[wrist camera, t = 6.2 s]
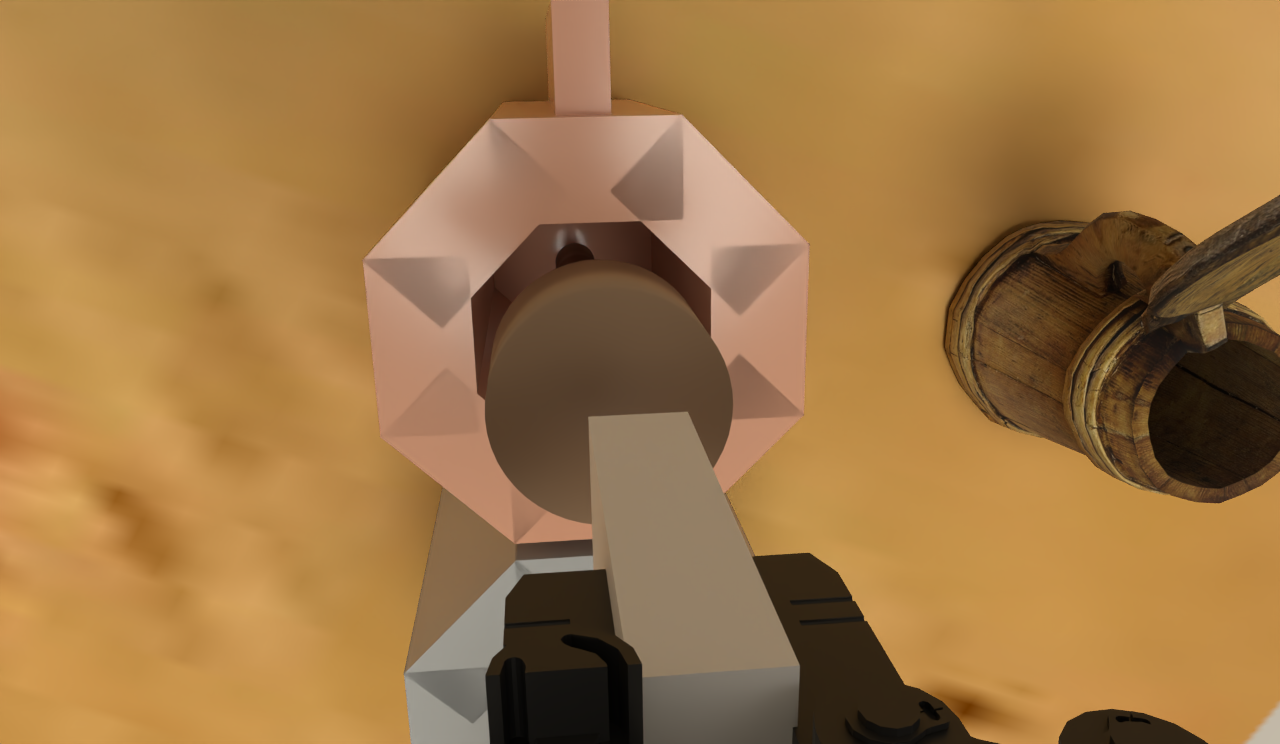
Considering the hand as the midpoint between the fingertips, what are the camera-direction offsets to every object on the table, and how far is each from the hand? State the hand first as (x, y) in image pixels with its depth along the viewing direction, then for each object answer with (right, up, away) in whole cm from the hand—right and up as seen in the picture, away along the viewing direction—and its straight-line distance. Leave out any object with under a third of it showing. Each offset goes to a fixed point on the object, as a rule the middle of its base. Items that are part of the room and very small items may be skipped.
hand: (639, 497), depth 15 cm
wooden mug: (+16, +6, +26) cm, 31 cm away
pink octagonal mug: (-3, +8, +23) cm, 24 cm away
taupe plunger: (-2, +6, +20) cm, 21 cm away
